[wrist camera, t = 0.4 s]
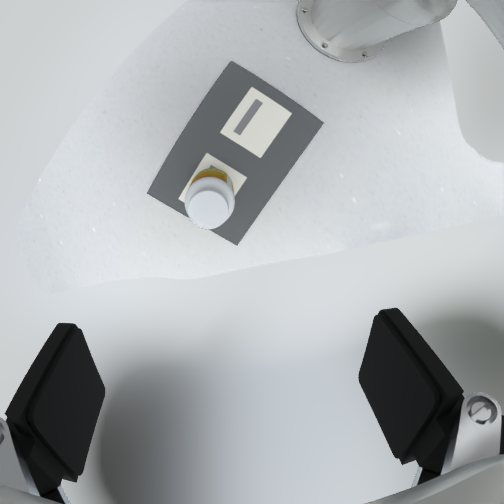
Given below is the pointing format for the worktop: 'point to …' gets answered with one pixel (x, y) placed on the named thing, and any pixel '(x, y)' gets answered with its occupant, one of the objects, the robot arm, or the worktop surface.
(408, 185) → the worktop surface
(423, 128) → the worktop surface
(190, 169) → the label mat
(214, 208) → the supplement bottle
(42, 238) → the worktop surface
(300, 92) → the worktop surface
